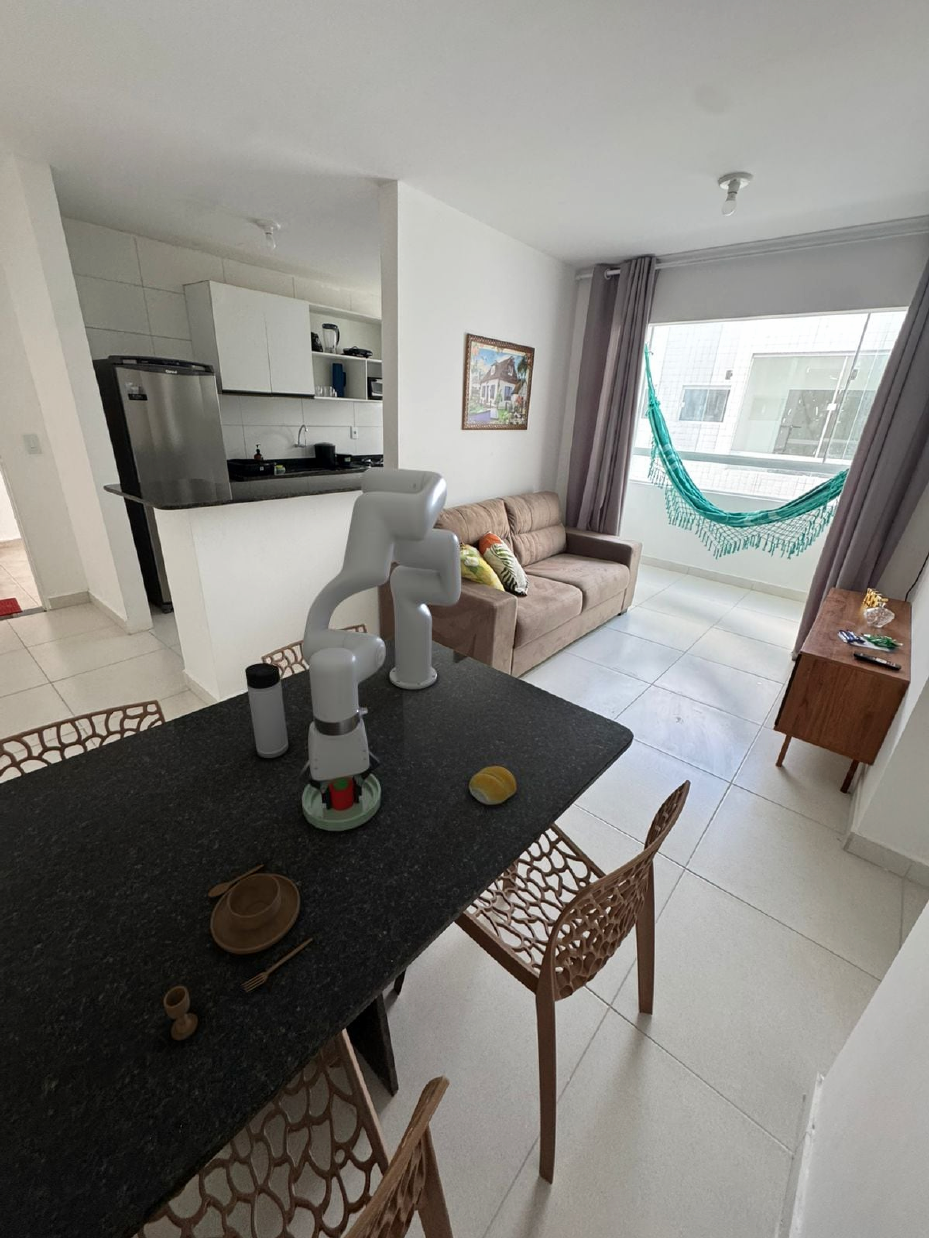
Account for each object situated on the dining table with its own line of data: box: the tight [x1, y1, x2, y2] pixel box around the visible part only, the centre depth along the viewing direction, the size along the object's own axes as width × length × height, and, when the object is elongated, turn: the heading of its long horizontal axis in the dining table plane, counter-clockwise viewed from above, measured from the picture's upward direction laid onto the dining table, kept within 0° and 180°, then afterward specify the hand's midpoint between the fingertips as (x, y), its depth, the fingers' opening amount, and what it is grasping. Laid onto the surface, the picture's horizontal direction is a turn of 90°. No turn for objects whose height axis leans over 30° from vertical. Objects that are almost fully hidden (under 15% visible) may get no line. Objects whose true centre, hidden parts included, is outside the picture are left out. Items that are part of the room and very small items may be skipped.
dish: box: [301, 773, 382, 832], centre depth 94 cm, size 14×14×3 cm
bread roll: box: [468, 765, 517, 806], centre depth 99 cm, size 8×9×4 cm
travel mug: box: [244, 662, 289, 759], centre depth 104 cm, size 6×7×20 cm
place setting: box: [163, 863, 313, 1041], centre depth 70 cm, size 18×20×6 cm
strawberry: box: [329, 777, 355, 811], centre depth 93 cm, size 4×4×5 cm
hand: (342, 800), depth 94 cm, fingers closed on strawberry, 4 cm apart
